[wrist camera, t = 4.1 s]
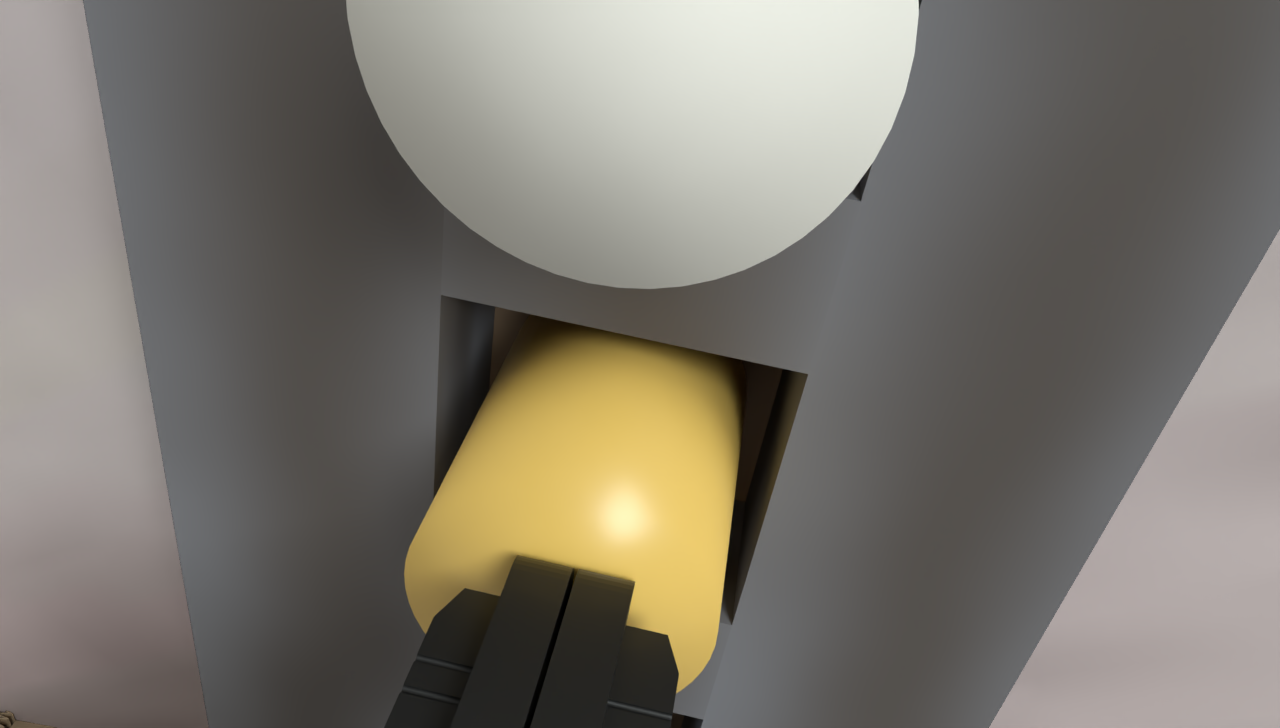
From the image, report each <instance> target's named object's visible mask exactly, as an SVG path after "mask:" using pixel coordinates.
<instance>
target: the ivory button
mask: <svg viewBox="0 0 1280 728" xmlns="http://www.w3.org/2000/svg"><path fill="white" fill-rule="evenodd" d="M346 6H347V18H348V23H349V28H350V33H351V38H352V43H353V48H354V53H355V57H356V60H357V63H358V66H359V69H360V72H361V75H362V78H363V81H364V84H365V87H366V90H367V92H368V95H369V97H370V99H371V101H372V103H373V106H374V108H375V110H376V112H377V114H378V117H379V119H380V121H381V123H382V125H383V127H384V128H385V130H386V132H387V133H388V135H389V137H390V138H391V140H392V142H393V143H394V145H395V147H396V148H397V150H398V152H399V153H400V155H401V156H402V157H403V159H404V160H405V161H406V163H407V164H408V165H409V167H410V168H411V169H412V171H413V172H414V173H415V175H416V176H417V177H418V179H419V180H420V181H421V182H422V183H423V185H424V186H425V187H426V188H427V189H428V190H429V191H430V192H431V193H432V194H433V195H434V196H435V197H436V198H437V199H438V200H439V202H440V203H441V204H442V205H443V206H444V207H445V208H447V209H448V210H449V211H450V212H451V213H452V214H454V215H455V216H456V217H457V218H458V219H459V220H461V221H462V222H463V223H464V224H465V225H466V226H468V227H469V228H470V229H471V230H473V231H474V232H476V233H477V234H479V235H480V236H482V237H483V238H485V239H486V240H488V241H489V242H490V243H492V244H493V245H495V246H496V247H498V248H500V249H502V250H504V251H505V252H507V253H509V254H511V255H513V256H515V257H517V258H519V259H520V260H522V261H524V262H526V263H529V264H531V265H534V266H536V267H539V268H541V269H544V270H546V271H549V272H551V273H554V274H556V275H560V276H564V277H567V278H571V279H575V280H578V281H582V282H586V283H591V284H597V285H604V286H610V287H617V288H637V289H657V288H669V287H682V286H687V285H692V284H697V283H702V282H707V281H712V280H716V279H719V278H722V277H725V276H728V275H731V274H734V273H737V272H740V271H743V270H746V269H748V268H750V267H752V266H754V265H756V264H758V263H760V262H762V261H765V260H767V259H769V258H771V257H773V256H775V255H777V254H778V253H780V252H781V251H783V250H784V249H786V248H787V247H789V246H791V245H792V244H794V243H795V242H797V241H798V240H800V239H802V238H803V237H804V236H805V235H807V234H808V233H809V232H810V231H811V230H813V229H814V228H815V227H816V226H818V225H819V224H820V223H821V222H822V221H824V220H825V219H826V218H827V217H828V216H829V215H830V214H831V213H832V212H833V211H834V210H835V209H836V208H837V207H838V206H839V205H840V204H841V203H842V201H843V200H844V199H845V198H846V197H847V196H848V195H849V194H850V193H851V192H852V191H853V190H854V188H855V187H856V185H857V184H858V183H859V181H860V180H861V178H862V177H863V176H864V174H865V173H866V171H867V170H868V169H869V167H870V166H871V164H872V163H873V162H874V160H875V158H876V156H877V154H878V153H879V151H880V149H881V147H882V145H883V143H884V142H885V140H886V138H887V136H888V134H889V132H890V130H891V129H892V126H893V123H894V121H895V118H896V116H897V113H898V110H899V108H900V105H901V102H902V100H903V97H904V95H905V92H906V88H907V83H908V79H909V75H910V71H911V67H912V63H913V58H914V54H915V45H916V36H917V26H918V17H919V1H918V0H346Z"/></svg>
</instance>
